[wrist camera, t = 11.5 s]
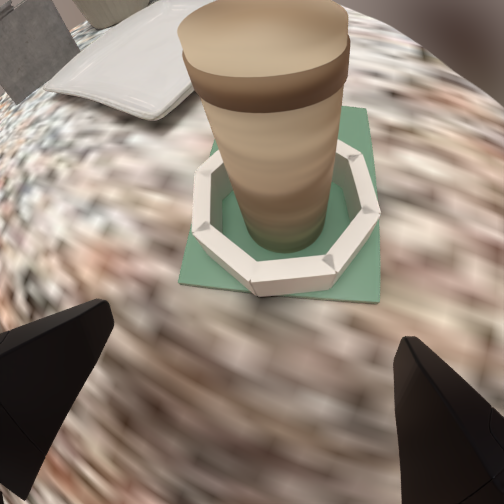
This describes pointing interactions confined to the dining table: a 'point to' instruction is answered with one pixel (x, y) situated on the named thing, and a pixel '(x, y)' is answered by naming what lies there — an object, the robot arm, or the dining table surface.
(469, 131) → the dining table surface
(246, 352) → the dining table surface
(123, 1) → the canister
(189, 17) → the tan tapered tumbler
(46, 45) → the hip flask
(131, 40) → the square plate
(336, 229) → the octagonal cup coaster
